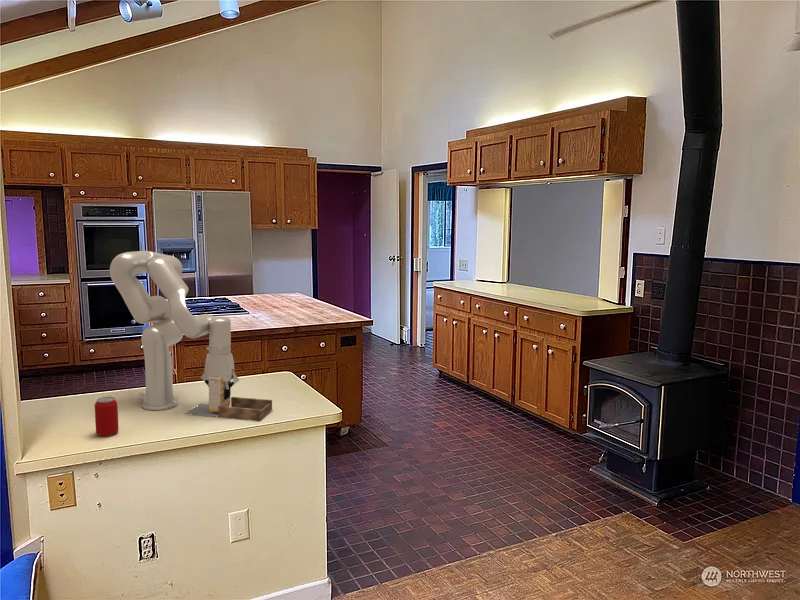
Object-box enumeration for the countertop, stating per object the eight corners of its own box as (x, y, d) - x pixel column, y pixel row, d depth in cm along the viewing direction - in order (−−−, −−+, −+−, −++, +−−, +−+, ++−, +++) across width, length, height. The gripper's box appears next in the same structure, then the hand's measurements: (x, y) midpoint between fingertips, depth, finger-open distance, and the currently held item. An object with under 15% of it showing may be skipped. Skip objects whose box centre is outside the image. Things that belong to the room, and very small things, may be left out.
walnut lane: (218, 417, 213) (217, 406, 213) (232, 406, 225) (232, 396, 224) (259, 420, 211) (259, 410, 210) (272, 410, 223) (272, 400, 222)
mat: (184, 414, 215) (184, 413, 215) (200, 404, 227) (200, 403, 227) (215, 417, 213) (215, 416, 213) (229, 406, 225) (229, 405, 225)
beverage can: (122, 430, 198) (120, 396, 196) (113, 437, 192) (111, 402, 190) (101, 429, 198) (100, 395, 196) (92, 437, 191) (90, 402, 190)
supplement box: (220, 413, 215) (220, 378, 213) (208, 411, 216) (208, 377, 214) (231, 405, 223) (231, 372, 221) (219, 404, 224) (219, 371, 222)
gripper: (193, 350, 213) (193, 398, 216) (237, 354, 211) (237, 403, 214) (203, 346, 221) (203, 392, 224) (246, 350, 218) (245, 396, 221)
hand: (219, 397), depth 219 cm, fingers closed on supplement box, 4 cm apart
